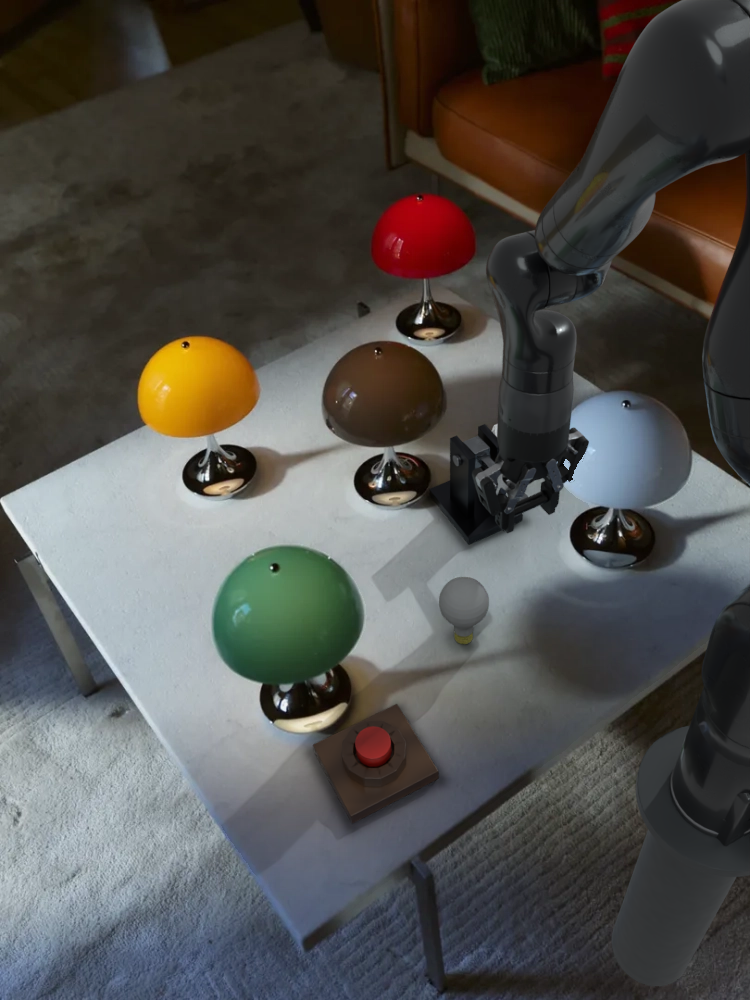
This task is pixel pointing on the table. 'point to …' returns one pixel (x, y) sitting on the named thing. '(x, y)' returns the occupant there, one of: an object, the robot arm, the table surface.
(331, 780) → the button block
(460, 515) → the bracket
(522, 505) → the lever
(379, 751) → the button
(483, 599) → the light bulb
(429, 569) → the table surface
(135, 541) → the table surface
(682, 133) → the robot arm
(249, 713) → the table surface
